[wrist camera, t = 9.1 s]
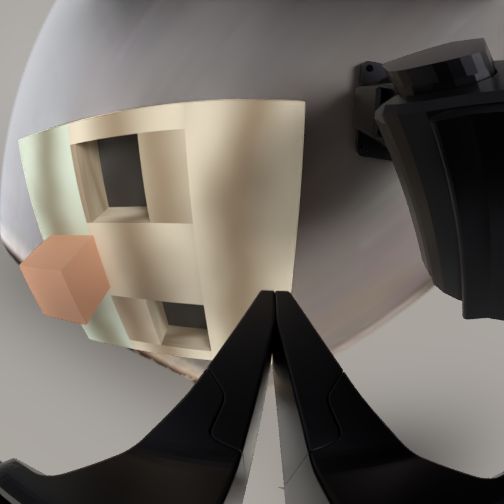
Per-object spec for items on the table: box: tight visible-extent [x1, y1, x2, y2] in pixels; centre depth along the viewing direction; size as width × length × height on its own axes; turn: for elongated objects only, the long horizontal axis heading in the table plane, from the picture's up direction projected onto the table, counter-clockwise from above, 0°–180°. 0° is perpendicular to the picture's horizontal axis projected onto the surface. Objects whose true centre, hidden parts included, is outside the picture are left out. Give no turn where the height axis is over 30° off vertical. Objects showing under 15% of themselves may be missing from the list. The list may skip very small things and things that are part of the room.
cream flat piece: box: [18, 99, 305, 365], centre depth 21 cm, size 21×22×3 cm
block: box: [19, 235, 110, 325], centre depth 18 cm, size 5×5×4 cm
